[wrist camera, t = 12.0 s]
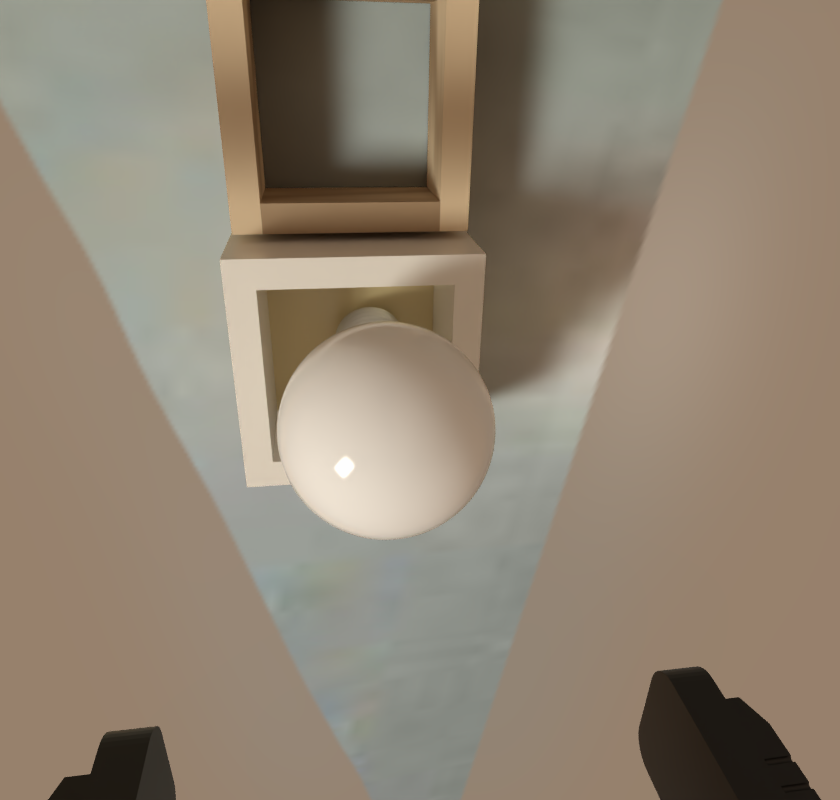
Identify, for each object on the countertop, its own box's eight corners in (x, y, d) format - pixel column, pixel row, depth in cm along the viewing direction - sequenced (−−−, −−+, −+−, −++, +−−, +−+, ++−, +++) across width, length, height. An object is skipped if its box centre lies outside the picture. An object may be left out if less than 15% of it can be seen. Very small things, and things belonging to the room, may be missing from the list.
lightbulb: (472, 287, 26) (563, 420, 17) (411, 421, 29) (461, 607, 19) (317, 229, 24) (319, 342, 15) (266, 378, 27) (239, 559, 17)
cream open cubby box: (235, 224, 25) (219, 259, 21) (456, 221, 26) (486, 254, 22) (256, 421, 29) (247, 487, 24) (448, 411, 30) (472, 472, 25)
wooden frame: (213, -40, 21) (200, -55, 19) (461, -31, 22) (481, -43, 20) (240, 216, 25) (232, 234, 22) (451, 213, 26) (467, 231, 23)
